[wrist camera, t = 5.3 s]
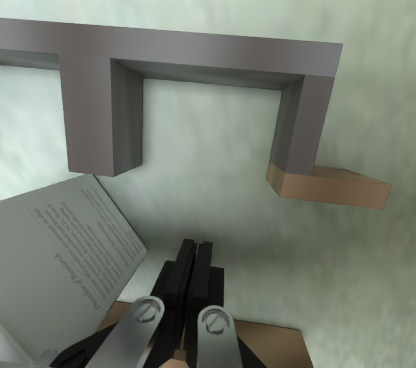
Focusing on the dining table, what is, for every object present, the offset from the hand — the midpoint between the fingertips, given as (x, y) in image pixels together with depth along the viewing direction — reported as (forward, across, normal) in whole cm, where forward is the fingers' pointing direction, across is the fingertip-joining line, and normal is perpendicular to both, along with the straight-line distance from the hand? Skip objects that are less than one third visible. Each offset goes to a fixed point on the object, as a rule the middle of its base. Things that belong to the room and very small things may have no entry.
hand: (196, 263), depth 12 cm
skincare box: (+1, +7, 0) cm, 7 cm away
